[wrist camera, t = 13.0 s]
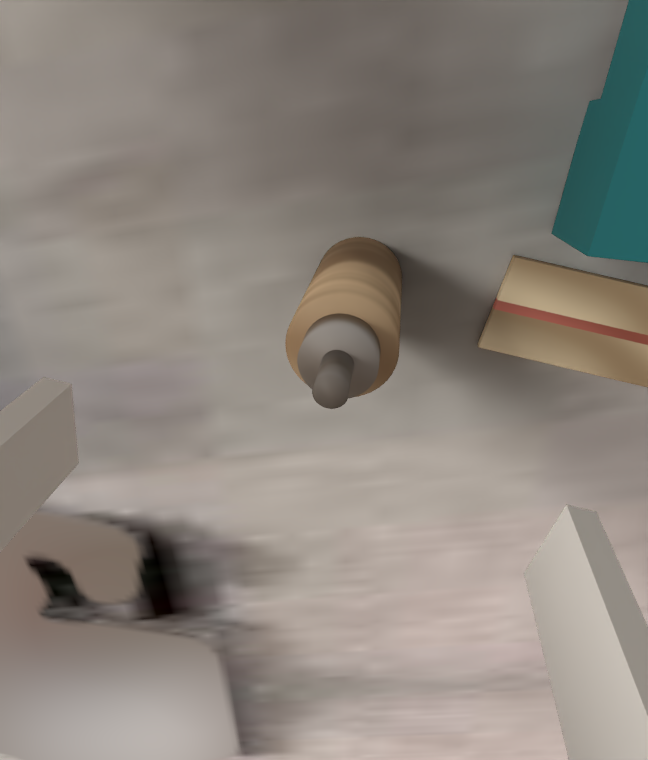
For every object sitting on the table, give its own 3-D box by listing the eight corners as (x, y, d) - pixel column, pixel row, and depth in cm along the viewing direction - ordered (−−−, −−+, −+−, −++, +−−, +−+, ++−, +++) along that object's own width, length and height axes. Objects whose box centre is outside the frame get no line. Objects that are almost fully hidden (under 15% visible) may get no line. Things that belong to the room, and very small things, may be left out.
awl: (326, 228, 25) (274, 318, 15) (412, 248, 25) (413, 351, 15) (311, 307, 27) (258, 429, 18) (389, 326, 27) (378, 458, 18)
